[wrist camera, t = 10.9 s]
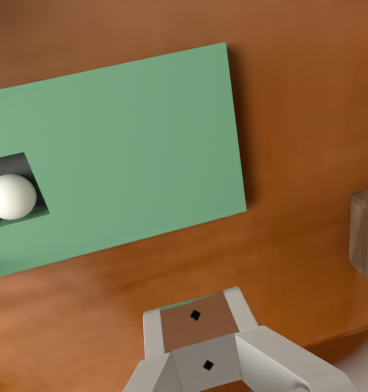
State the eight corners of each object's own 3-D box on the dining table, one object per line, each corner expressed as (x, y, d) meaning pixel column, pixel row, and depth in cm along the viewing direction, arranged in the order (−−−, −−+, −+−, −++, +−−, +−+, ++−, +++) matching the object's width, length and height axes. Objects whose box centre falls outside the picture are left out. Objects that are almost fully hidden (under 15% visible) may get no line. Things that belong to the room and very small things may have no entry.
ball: (5, 178, 23) (-37, 187, 24) (26, 223, 25) (-15, 230, 26) (35, 165, 27) (-2, 172, 28) (51, 204, 29) (15, 211, 29)
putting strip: (217, 44, 27) (225, 41, 25) (238, 201, 33) (246, 211, 31) (-109, 113, 25) (-133, 117, 22) (-19, 269, 31) (-30, 284, 29)
